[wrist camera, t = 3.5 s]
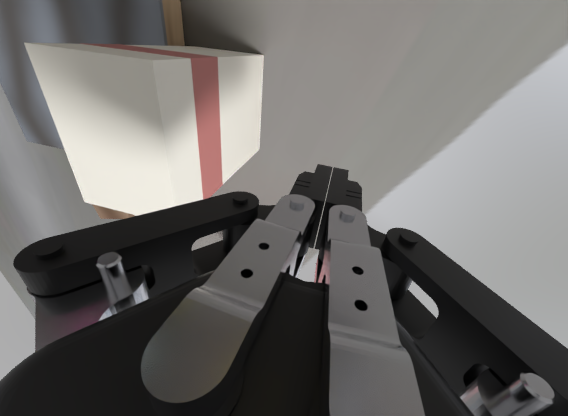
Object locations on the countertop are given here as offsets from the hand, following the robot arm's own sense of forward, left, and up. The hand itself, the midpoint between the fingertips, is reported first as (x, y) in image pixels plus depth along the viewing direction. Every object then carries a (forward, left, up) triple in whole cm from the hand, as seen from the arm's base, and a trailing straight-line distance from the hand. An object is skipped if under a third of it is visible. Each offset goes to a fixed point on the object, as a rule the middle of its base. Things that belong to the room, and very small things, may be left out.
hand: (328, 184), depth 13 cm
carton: (+12, 0, -14) cm, 19 cm away
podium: (+27, 0, -14) cm, 31 cm away
